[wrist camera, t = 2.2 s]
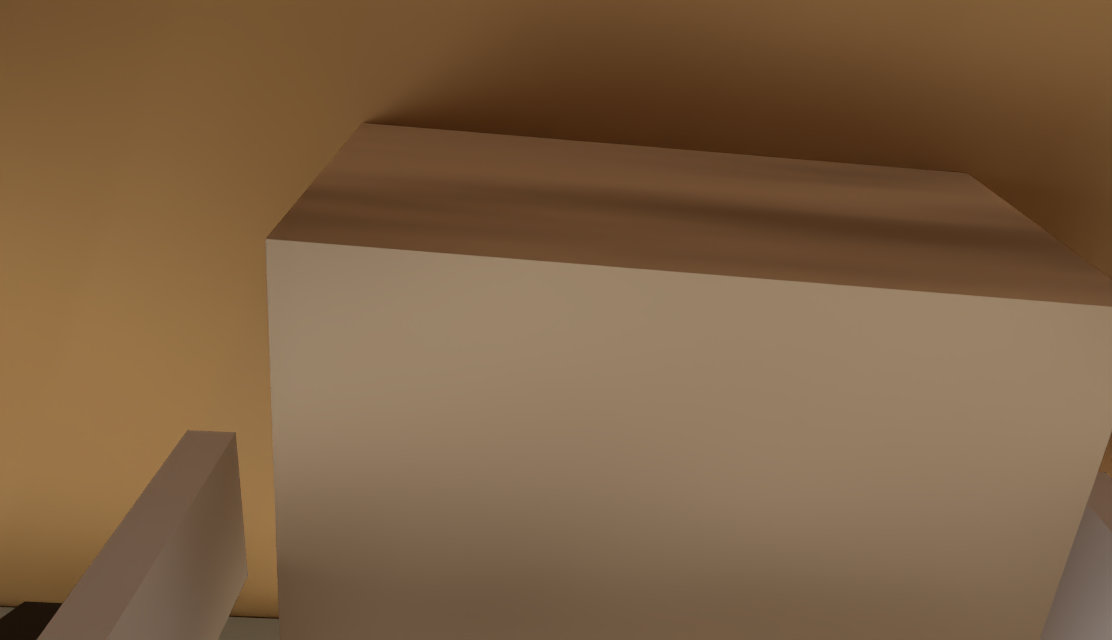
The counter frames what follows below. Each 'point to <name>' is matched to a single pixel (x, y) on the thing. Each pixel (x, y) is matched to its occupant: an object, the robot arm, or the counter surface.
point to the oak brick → (672, 397)
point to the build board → (233, 628)
